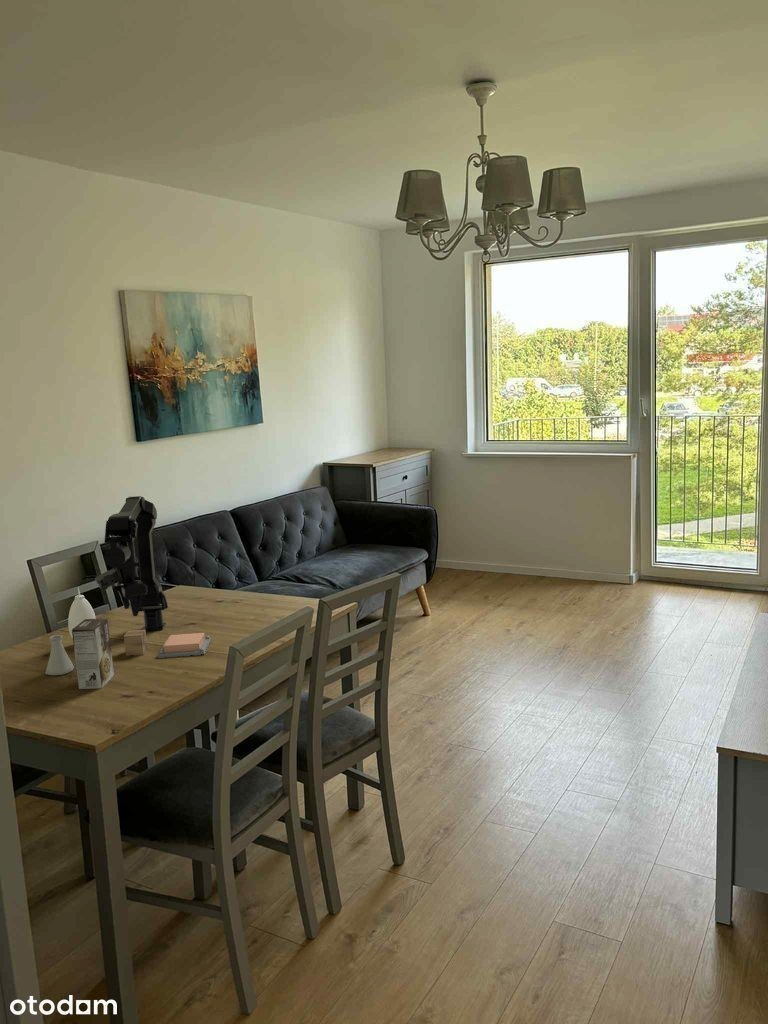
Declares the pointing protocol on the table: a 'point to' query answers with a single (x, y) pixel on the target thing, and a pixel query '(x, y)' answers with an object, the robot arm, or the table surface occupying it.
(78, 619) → the sauce bottle
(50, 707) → the table surface
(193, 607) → the table surface
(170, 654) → the brick base
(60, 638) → the flask
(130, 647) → the tan wooden block
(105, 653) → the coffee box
